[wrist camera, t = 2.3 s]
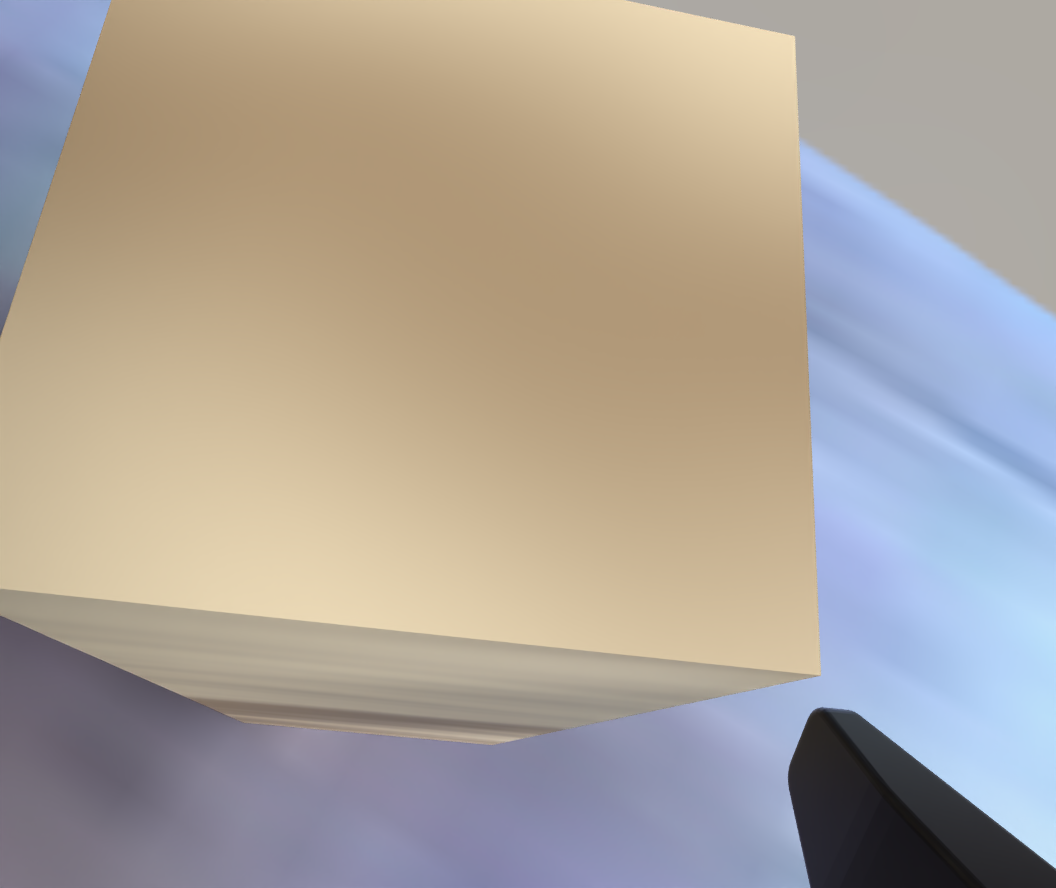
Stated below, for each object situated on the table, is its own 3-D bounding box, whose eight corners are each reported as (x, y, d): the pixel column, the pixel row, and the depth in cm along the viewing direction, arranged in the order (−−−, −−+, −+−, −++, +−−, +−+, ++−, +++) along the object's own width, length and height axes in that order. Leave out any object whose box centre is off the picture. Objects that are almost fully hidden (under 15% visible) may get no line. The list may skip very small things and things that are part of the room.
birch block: (492, 744, 18) (821, 675, 5) (243, 722, 18) (-81, 580, 5) (512, 512, 20) (795, 36, 7) (287, 483, 19) (145, -101, 6)
